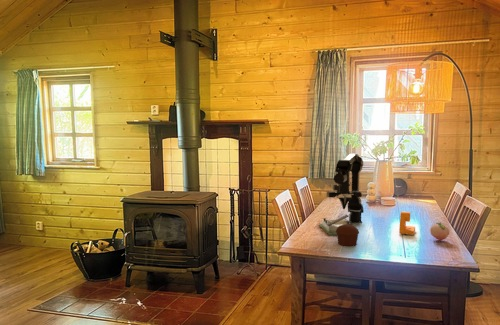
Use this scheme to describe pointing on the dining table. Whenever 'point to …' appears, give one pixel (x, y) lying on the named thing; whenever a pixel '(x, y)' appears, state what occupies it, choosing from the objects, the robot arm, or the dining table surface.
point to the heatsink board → (332, 226)
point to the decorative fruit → (439, 231)
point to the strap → (337, 220)
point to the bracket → (403, 228)
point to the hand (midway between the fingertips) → (343, 209)
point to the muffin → (347, 235)
